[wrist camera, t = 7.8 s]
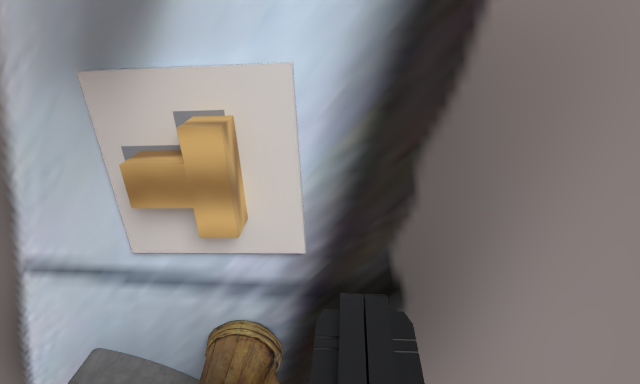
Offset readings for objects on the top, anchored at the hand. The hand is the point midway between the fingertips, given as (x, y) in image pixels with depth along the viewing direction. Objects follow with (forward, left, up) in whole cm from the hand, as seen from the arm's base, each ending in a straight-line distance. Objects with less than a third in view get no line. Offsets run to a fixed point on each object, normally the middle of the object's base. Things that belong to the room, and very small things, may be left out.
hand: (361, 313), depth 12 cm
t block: (+3, -15, -21) cm, 26 cm away
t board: (+3, -14, -23) cm, 27 cm away
